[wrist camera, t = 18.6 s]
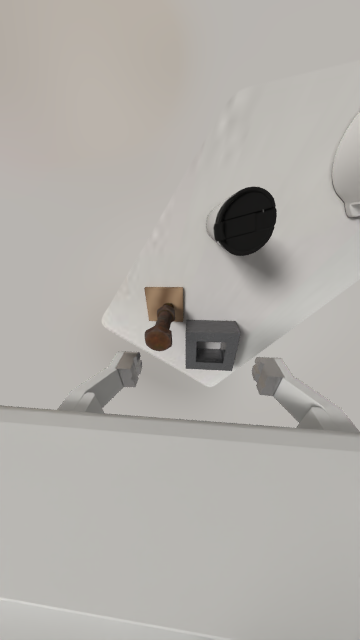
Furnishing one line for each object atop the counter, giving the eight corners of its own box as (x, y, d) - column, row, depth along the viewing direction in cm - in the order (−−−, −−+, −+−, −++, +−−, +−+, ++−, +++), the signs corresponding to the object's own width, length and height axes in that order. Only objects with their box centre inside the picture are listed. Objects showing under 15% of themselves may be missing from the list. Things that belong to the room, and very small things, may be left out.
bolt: (178, 316, 44) (171, 352, 32) (160, 315, 45) (147, 352, 32) (177, 297, 41) (169, 329, 29) (158, 297, 42) (142, 328, 29)
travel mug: (202, 210, 32) (210, 197, 15) (235, 201, 31) (286, 174, 14) (206, 243, 35) (217, 263, 18) (237, 236, 34) (279, 249, 17)
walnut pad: (182, 287, 41) (182, 288, 40) (183, 319, 46) (183, 321, 45) (145, 287, 42) (144, 288, 41) (150, 319, 47) (149, 320, 46)
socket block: (235, 321, 45) (240, 333, 40) (228, 356, 52) (231, 370, 47) (186, 319, 46) (185, 331, 41) (186, 354, 53) (185, 368, 48)
